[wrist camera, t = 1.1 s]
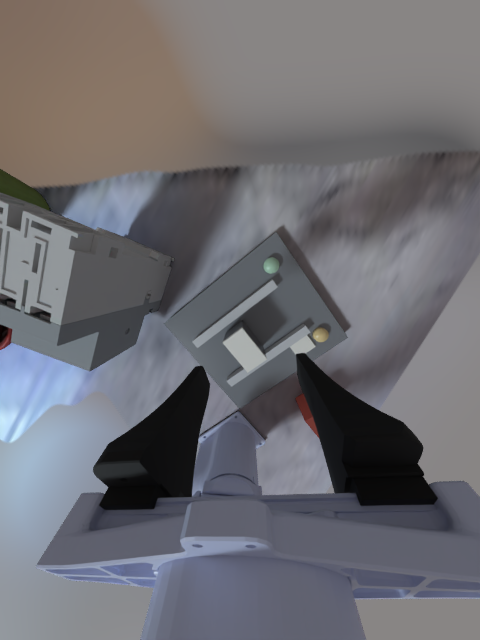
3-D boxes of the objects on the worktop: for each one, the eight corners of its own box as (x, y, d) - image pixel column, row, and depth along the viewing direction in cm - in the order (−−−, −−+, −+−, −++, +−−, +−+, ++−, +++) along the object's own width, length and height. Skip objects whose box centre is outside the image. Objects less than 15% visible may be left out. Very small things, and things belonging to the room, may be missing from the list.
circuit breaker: (101, 327, 28) (-57, 379, 13) (123, 236, 25) (-50, 174, 10) (146, 344, 28) (43, 414, 14) (174, 258, 25) (79, 229, 11)
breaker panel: (239, 402, 30) (239, 414, 28) (168, 321, 27) (160, 325, 25) (342, 334, 27) (352, 340, 25) (274, 234, 24) (277, 229, 22)
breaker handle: (247, 357, 26) (247, 372, 22) (226, 331, 26) (222, 342, 21) (263, 345, 26) (267, 359, 22) (242, 319, 25) (242, 328, 21)
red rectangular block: (308, 414, 31) (320, 439, 26) (295, 397, 30) (305, 421, 25) (328, 402, 30) (344, 425, 25) (315, 385, 29) (329, 406, 24)
